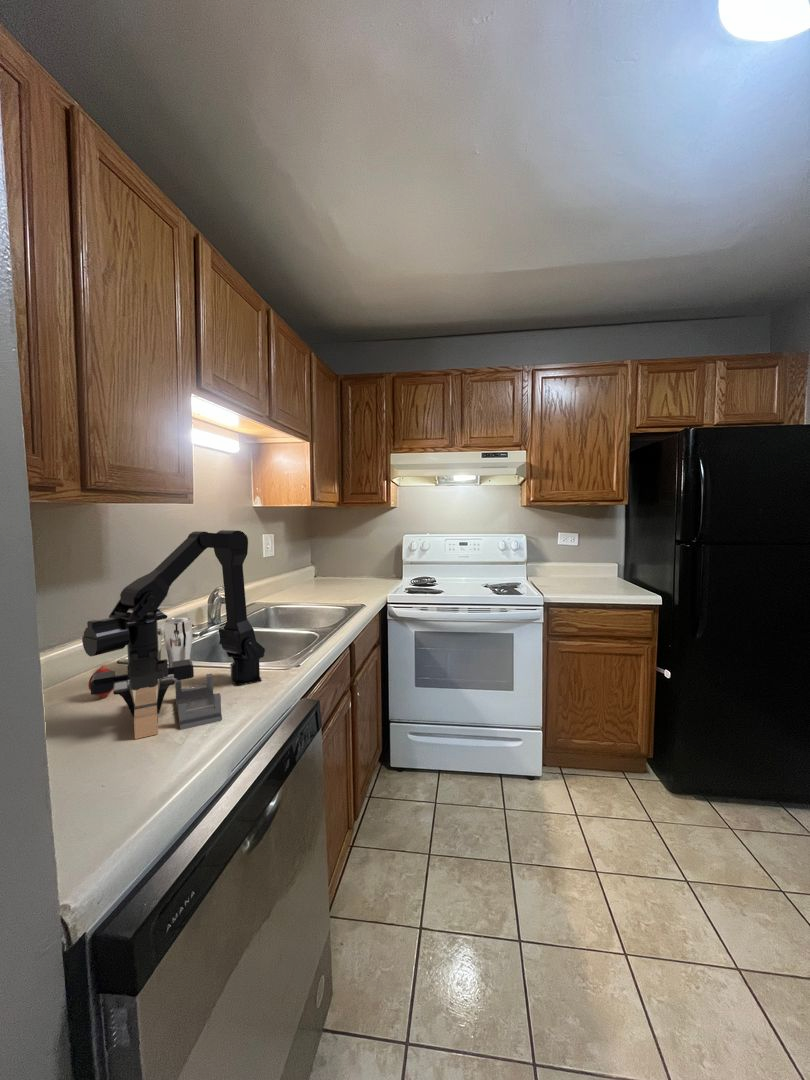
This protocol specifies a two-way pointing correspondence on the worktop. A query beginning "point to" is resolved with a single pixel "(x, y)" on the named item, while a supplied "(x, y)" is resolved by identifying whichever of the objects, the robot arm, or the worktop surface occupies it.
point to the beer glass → (178, 638)
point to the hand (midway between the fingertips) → (146, 714)
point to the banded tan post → (145, 712)
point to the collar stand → (197, 704)
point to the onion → (101, 669)
